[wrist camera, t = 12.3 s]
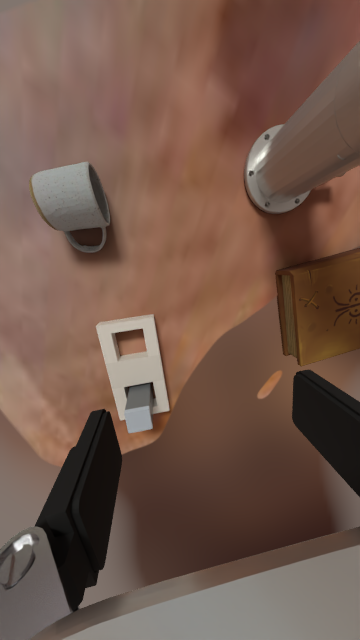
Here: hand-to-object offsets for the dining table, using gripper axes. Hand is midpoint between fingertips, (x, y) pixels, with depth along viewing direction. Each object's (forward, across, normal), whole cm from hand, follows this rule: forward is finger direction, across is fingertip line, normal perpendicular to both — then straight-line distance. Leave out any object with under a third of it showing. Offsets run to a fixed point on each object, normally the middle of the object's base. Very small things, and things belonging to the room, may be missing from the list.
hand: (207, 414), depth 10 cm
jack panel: (+28, +8, +11) cm, 31 cm away
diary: (+29, -34, +4) cm, 45 cm away
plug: (+28, +8, +16) cm, 34 cm away
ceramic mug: (+29, +11, -17) cm, 35 cm away
